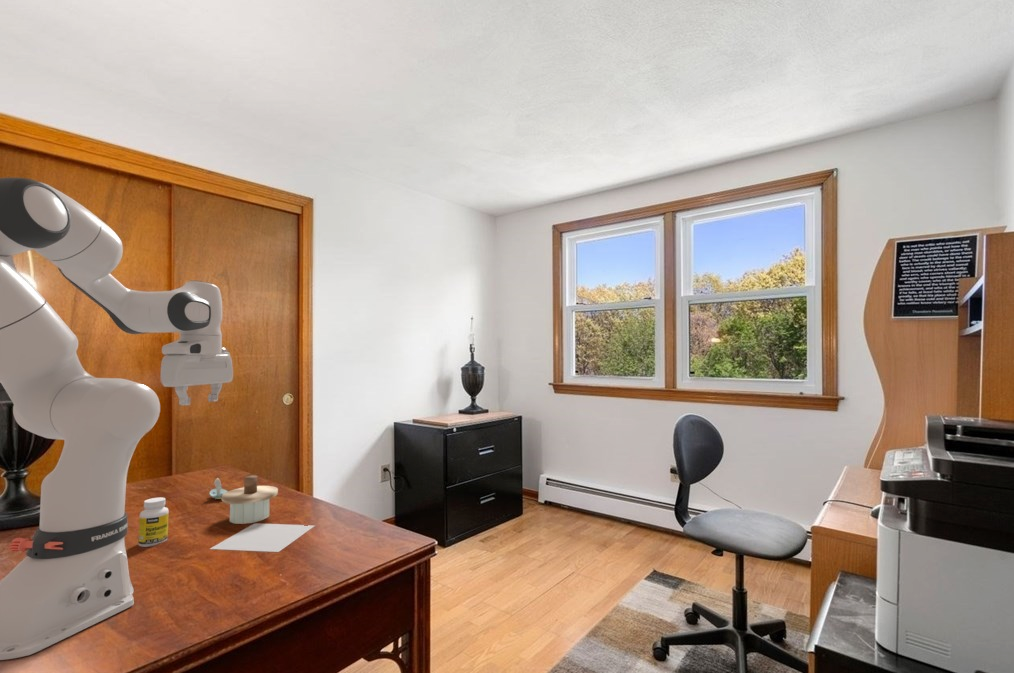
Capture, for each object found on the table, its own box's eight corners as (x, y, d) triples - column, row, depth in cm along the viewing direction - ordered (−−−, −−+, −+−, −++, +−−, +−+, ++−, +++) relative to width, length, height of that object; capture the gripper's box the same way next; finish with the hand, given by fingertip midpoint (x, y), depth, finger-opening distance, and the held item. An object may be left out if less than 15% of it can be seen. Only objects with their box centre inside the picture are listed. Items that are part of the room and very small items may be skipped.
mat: (278, 554, 102) (278, 551, 102) (209, 551, 104) (209, 548, 104) (315, 527, 118) (315, 525, 118) (254, 525, 120) (254, 523, 120)
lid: (258, 504, 117) (259, 484, 118) (209, 503, 119) (210, 482, 119) (287, 489, 130) (288, 471, 130) (242, 488, 131) (243, 470, 132)
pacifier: (230, 494, 148) (207, 497, 144) (231, 473, 148) (209, 476, 144) (236, 499, 143) (213, 502, 138) (238, 478, 143) (215, 481, 139)
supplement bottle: (142, 549, 105) (144, 504, 105) (134, 543, 108) (136, 500, 108) (171, 542, 109) (172, 499, 109) (163, 536, 112) (164, 494, 113)
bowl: (255, 526, 119) (255, 501, 120) (221, 524, 120) (222, 500, 120) (276, 514, 128) (276, 491, 129) (244, 513, 129) (245, 490, 129)
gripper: (218, 348, 129) (217, 399, 128) (155, 346, 108) (153, 407, 108) (240, 348, 128) (239, 399, 127) (181, 346, 108) (179, 407, 107)
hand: (199, 403), depth 117 cm, fingers open, 8 cm apart
